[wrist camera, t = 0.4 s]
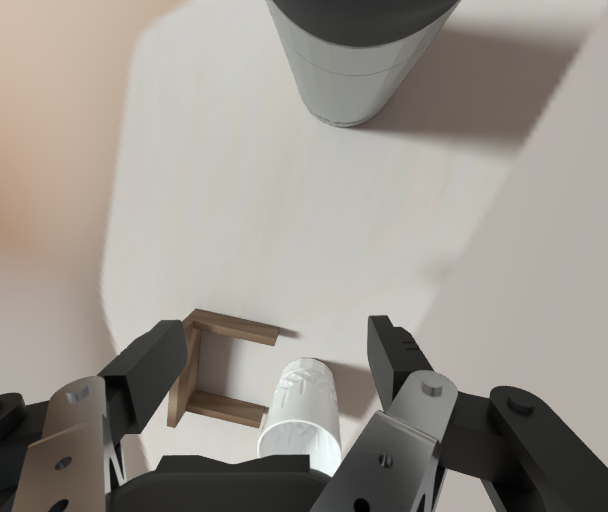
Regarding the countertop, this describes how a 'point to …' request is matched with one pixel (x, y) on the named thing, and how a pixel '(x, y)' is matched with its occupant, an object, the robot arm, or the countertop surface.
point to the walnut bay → (185, 385)
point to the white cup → (304, 417)
